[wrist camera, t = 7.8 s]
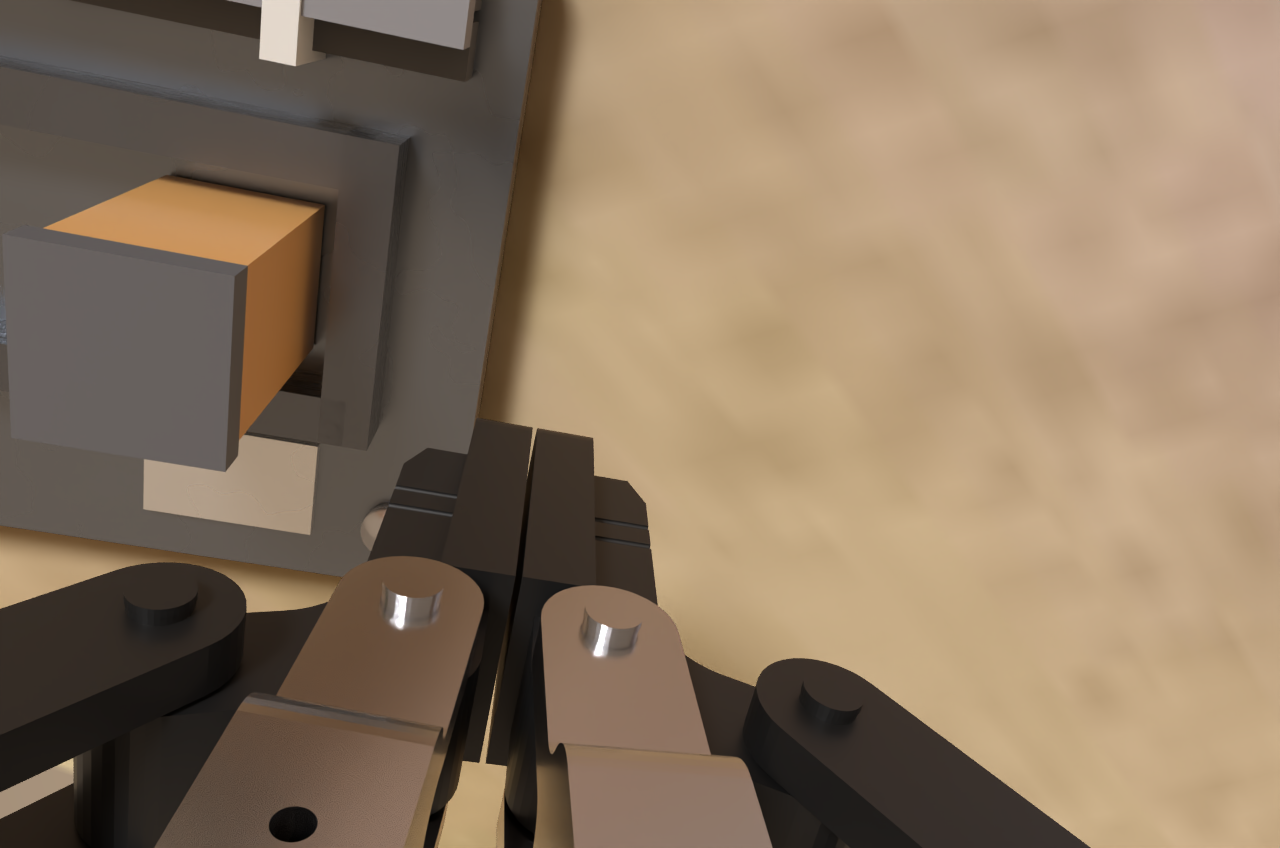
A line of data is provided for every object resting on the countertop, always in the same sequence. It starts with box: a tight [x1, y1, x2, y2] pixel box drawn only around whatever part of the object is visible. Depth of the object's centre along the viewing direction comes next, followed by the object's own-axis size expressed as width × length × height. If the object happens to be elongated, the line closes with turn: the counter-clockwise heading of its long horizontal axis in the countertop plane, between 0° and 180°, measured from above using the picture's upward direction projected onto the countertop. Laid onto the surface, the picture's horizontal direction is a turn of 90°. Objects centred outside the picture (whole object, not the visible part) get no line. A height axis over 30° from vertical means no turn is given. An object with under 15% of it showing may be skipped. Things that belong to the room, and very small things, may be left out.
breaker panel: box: [0, 0, 542, 577], centre depth 20 cm, size 18×14×3 cm
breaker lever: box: [2, 175, 325, 472], centre depth 18 cm, size 3×3×6 cm
